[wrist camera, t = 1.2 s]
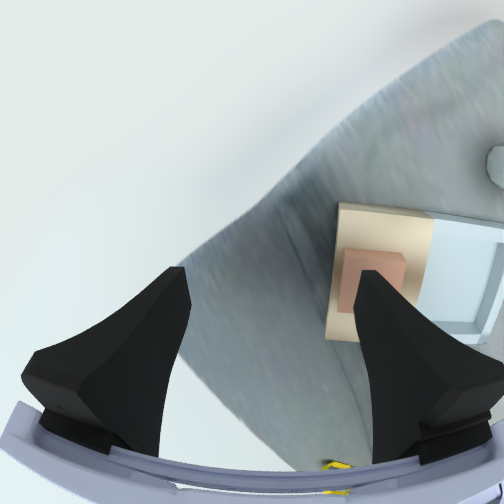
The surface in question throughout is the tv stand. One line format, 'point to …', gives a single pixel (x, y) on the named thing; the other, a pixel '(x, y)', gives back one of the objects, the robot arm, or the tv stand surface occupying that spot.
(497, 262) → the box
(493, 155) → the milkshake
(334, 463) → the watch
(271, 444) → the tv stand surface
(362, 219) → the beige wooden block
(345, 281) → the tile
